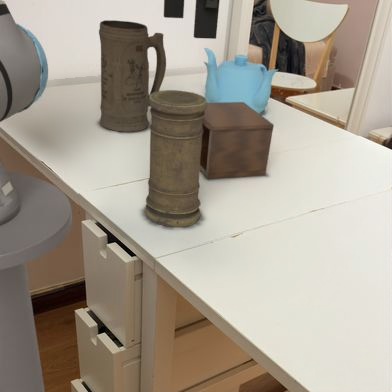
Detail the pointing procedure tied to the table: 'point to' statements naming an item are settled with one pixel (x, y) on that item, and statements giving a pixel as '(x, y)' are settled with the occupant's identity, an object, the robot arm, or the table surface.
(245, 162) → the shelf
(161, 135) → the container
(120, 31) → the beer stein
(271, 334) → the table surface
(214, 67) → the teapot
